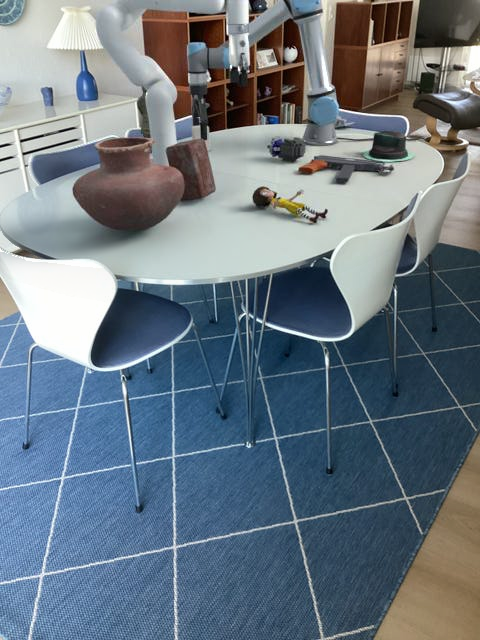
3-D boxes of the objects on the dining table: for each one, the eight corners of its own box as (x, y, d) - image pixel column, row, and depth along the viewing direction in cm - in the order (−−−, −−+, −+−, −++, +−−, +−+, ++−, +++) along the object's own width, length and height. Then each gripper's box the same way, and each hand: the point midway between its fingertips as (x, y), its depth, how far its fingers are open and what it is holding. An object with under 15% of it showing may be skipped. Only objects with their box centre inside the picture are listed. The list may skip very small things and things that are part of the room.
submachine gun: (291, 170, 202) (317, 154, 221) (291, 177, 204) (317, 161, 222) (376, 180, 189) (396, 162, 207) (375, 188, 190) (395, 170, 209)
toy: (275, 134, 227) (308, 138, 220) (275, 155, 231) (307, 159, 224) (264, 138, 221) (297, 142, 214) (264, 160, 225) (297, 164, 218)
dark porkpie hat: (354, 155, 225) (369, 146, 240) (391, 182, 222) (404, 171, 237) (375, 123, 215) (389, 115, 230) (414, 151, 213) (426, 141, 228)
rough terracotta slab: (94, 159, 190) (189, 144, 170) (112, 152, 198) (205, 137, 178) (110, 208, 198) (203, 199, 177) (127, 200, 205) (218, 190, 185)
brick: (210, 150, 242) (209, 127, 237) (195, 152, 240) (194, 128, 235) (207, 147, 246) (205, 124, 241) (192, 149, 245) (191, 126, 240)
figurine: (311, 212, 157) (243, 186, 169) (307, 236, 161) (241, 209, 173) (335, 200, 165) (269, 176, 178) (331, 223, 170) (266, 198, 182)
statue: (170, 147, 247) (164, 74, 232) (162, 152, 239) (156, 77, 224) (146, 146, 250) (139, 74, 234) (138, 151, 242) (130, 77, 226)
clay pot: (119, 206, 179) (108, 126, 166) (203, 217, 169) (199, 132, 156) (58, 240, 155) (40, 149, 142) (152, 255, 144) (142, 159, 132)
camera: (330, 99, 279) (356, 102, 271) (329, 123, 285) (354, 127, 277) (320, 101, 274) (346, 105, 265) (319, 126, 280) (344, 130, 271)
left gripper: (256, 30, 182) (256, 87, 190) (240, 28, 196) (241, 80, 205) (234, 31, 180) (235, 88, 188) (220, 29, 194) (221, 82, 203)
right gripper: (214, 87, 220) (216, 142, 231) (199, 79, 241) (201, 130, 252) (196, 88, 219) (198, 143, 229) (182, 80, 239) (185, 131, 250)
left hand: (238, 84), depth 196 cm, fingers open, 9 cm apart
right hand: (200, 136), depth 241 cm, fingers open, 13 cm apart
